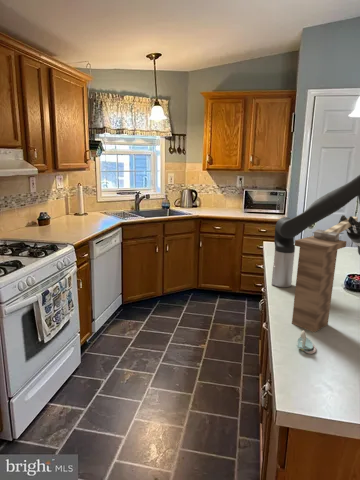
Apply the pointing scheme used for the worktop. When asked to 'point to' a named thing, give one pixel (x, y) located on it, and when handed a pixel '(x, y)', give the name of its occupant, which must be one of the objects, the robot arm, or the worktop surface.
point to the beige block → (333, 231)
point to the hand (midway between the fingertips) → (346, 218)
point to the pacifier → (305, 343)
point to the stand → (314, 282)
